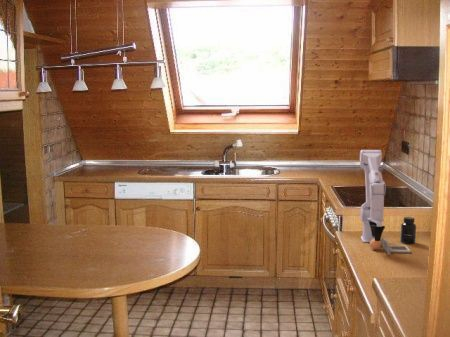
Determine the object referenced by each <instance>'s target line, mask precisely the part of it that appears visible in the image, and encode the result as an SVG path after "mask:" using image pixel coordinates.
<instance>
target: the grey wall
mask: <svg viewBox="0 0 450 337" xmlns="http://www.w3.org/2000/svg"><path fill="white" fill-rule="evenodd" d="M381 243H382V245H381V247H383V249H384V250H385V253H386V254H387V255H389V256H390V255H391V254H392V253H391V246H390V245H391V244H390V243H389V241H388V240H387V238H386V237H385V236H384V235H383V236H382V235H381Z"/></svg>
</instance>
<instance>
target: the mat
mask: <svg viewBox="0 0 450 337" xmlns="http://www.w3.org/2000/svg"><path fill="white" fill-rule="evenodd" d="M390 246H391V254H401V255H402V254H405V255H407V254H408V255H412V251H411V250H410V249H409V247H408V246H407V244H390Z"/></svg>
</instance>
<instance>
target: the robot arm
mask: <svg viewBox="0 0 450 337" xmlns="http://www.w3.org/2000/svg"><path fill="white" fill-rule="evenodd" d="M382 152H383V151H382V150H381V149H361V150H360V151H359V166H360V169H363V171H364V176H365V179H364V181H365V184H364V185H365V202H364V203H363V204H362V205H360V210H359V211H360V213H359V216H360V217H359V220H360V221H361V222H363V223H362V235H361V236H360V239H361V241H362V242H363V243H370V242H371V240H372V239H375V241H381V240H382V235H383V232H384V231H385V228H386V227H385V225H382V224H383V222H384V213H385V212H384V209H385V207H384V205H385V204H384V203H385V195H386V192H387V191H386V190H387V186H386V183H385V181H384V179H383V175H382V172H381V171H380V170H379V168H380V166H381V163H382V159H383V153H382Z"/></svg>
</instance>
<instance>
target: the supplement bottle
mask: <svg viewBox="0 0 450 337" xmlns="http://www.w3.org/2000/svg"><path fill="white" fill-rule="evenodd" d="M416 237H417V224H416V223H415V217H411V216H404V217H403V222H402V223H401V224H400V243H401V244H403V245H414V244H416V240H417V239H416Z"/></svg>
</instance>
